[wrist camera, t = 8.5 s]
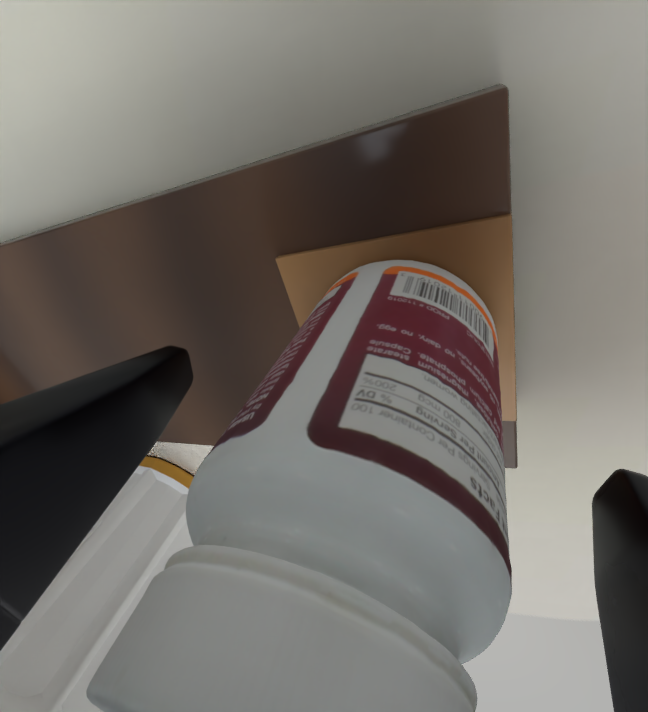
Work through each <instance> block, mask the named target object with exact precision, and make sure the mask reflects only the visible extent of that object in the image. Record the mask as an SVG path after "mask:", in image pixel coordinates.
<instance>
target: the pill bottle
mask: <svg viewBox="0 0 648 712" xmlns="http://www.w3.org/2000/svg"><path fill="white" fill-rule="evenodd" d="M504 465H505V463H504V448H503V430H502V409H501V391H500V377H499V359H498V340H497V334H496V329H495V325H494V321H493V319H492V316H491V314H490V312H489V311H488V309H487V307H486V305H485V304H484V302H483V301H482V300H481V298H480V297H479V296H478V295H477V294H476V293H475V292H474V290H473V289H472V288H471V287H470V286H468V285H467V284H466V283H465V282H464V281H462V280H461V279H460V278H458V277H457V276H455V275H453V274H452V273H450V272H448V271H446V270H444V269H441V268H439V267H437V266H434V265H431V264H428V263H423V262H418V261H413V260H387V261H380V262H374V263H369V264H367V265H364V266H360V267H358V268H356V269H355V270H353V271H351V272H349V273H348V274H346V275H345V276H343V277H342V278H341V279H339V280H338V281H337V282H336V283H335V284H334V285H333V286H332V287H331V288H330V289H329V290H328V291H327V292H326V294H325V295H324V296H323V298H322V299H321V300H320V302H319V303H318V304H317V305H316V307H315V308H314V310H313V311H312V312H311V314H310V315H309V317H308V318H307V320H306V321H305V322H304V324H303V325H302V327H301V328H300V329H299V331H298V332H297V334H296V335H295V336H294V338H293V339H292V340H291V342H290V343H289V345H288V346H287V347H286V349H285V350H284V351H283V353H282V354H281V355H280V357H279V358H278V359H277V361H276V362H275V363H274V365H273V366H272V368H271V369H270V371H269V372H268V373H267V375H266V376H265V378H264V379H263V380H262V382H261V383H260V384H259V386H258V387H257V388H256V390H255V391H254V392H253V394H252V395H251V396H250V398H249V399H248V400H247V402H246V403H245V404H244V406H243V407H242V409H241V410H240V411H239V413H238V414H237V415H236V417H235V418H234V419H233V420H232V422H231V423H230V425H229V426H228V427H227V429H226V430H225V432H224V433H223V434H222V436H221V437H220V438H219V440H218V441H217V443H216V444H215V446H214V447H213V449H212V450H211V452H210V453H209V454H208V455H207V456H206V458H205V459H204V460H203V462H202V464H201V465H200V467H199V468H198V470H197V472H196V474H195V476H194V478H193V479H192V482H191V485H190V487H189V491H188V496H187V501H186V520H187V526H188V531H189V535H190V538H191V540H192V543H193V546H192V547H188V548H184V549H182V550H180V551H178V552H176V553H175V554H173V555H172V556H171V557H170V558H169V559H168V561H167V563H166V565H165V568H164V571H162V572H160V573H159V574H157V575H156V576H155V577H154V578H153V579H152V581H151V582H150V584H149V586H148V588H147V590H146V591H145V593H144V595H143V597H142V598H141V600H140V602H139V603H138V605H137V606H136V608H135V610H134V611H133V613H132V614H131V616H130V618H129V619H128V621H127V622H126V624H125V626H124V627H123V629H122V630H121V632H120V634H119V635H118V637H117V638H116V640H115V642H114V643H113V645H112V646H111V648H110V650H109V651H108V653H107V655H106V656H105V658H104V659H103V661H102V663H101V664H100V666H99V667H98V669H97V671H96V673H95V674H94V676H93V678H92V679H91V681H90V683H89V685H88V688H87V690H86V694H87V698H88V699H89V701H90V702H91V703H92V704H93V705H95V706H97V707H98V708H99V709H100V710H102V711H104V712H475V709H476V705H477V693H476V689H475V685H474V683H473V681H472V679H471V677H470V676H469V674H468V673H467V672H466V670H465V669H464V667H463V666H462V665H461V664H463V663H465V662H468V661H469V660H471V659H473V658H474V657H476V656H477V655H479V654H480V653H482V652H483V651H484V650H485V649H486V648H487V647H488V646H489V645H490V644H491V643H492V641H493V640H494V638H495V637H496V635H497V634H498V632H499V631H500V629H501V627H502V625H503V623H504V621H505V617H506V614H507V611H508V607H509V603H510V599H511V594H512V584H511V572H512V569H511V564H510V559H509V541H508V527H507V509H506V493H505V467H504Z"/></svg>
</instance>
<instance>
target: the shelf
mask: <svg viewBox="0 0 648 712" xmlns="http://www.w3.org/2000/svg"><path fill="white" fill-rule="evenodd" d="M387 260H413V261H418V262H423V263H428V264H431V265H434V266H437V267H439V268H441V269H444V270H446V271H448V272H450V273H452V274H453V275H455V276H457V277H458V278H460V279H461V280H462V281H464V282H465V283H466V284H467V285H468V286H470V287H471V288H472V289H473V290H474V292H475V293H476V294H477V295H478V296H479V297H480V298H481V300H482V301H483V302H484V304H485V305H486V307H487V309H488V311H489V312H490V314H491V316H492V319H493V321H494V325H495V329H496V334H497V340H498V359H499V377H500V391H501V409H502V430H503V448H504V463H505V465H504V467H505V468H517V426H516V421H517V409H516V366H515V323H514V280H513V237H512V214H511V175H510V134H509V92H508V88H507V87H505V86H504V85H503V84H498V85H495V86H492V87H489V88H486V89H482V90H479V91H476V92H473V93H470V94H467V95H464V96H460V97H457V98H454V99H451V100H448V101H445V102H442V103H438V104H435V105H432V106H429V107H426V108H423V109H420V110H416V111H413V112H410V113H407V114H404V115H401V116H398V117H394V118H391V119H388V120H385V121H382V122H379V123H376V124H373V125H369V126H366V127H363V128H360V129H357V130H354V131H351V132H347V133H344V134H341V135H338V136H335V137H332V138H329V139H325V140H322V141H319V142H316V143H313V144H310V145H307V146H303V147H300V148H297V149H294V150H291V151H288V152H285V153H281V154H278V155H275V156H272V157H269V158H266V159H263V160H259V161H256V162H253V163H250V164H247V165H244V166H241V167H237V168H234V169H231V170H228V171H225V172H222V173H219V174H215V175H212V176H209V177H206V178H203V179H200V180H197V181H194V182H190V183H187V184H184V185H181V186H178V187H175V188H172V189H168V190H165V191H162V192H159V193H156V194H153V195H150V196H146V197H143V198H140V199H137V200H134V201H131V202H128V203H124V204H121V205H118V206H115V207H112V208H109V209H106V210H102V211H99V212H96V213H93V214H90V215H87V216H84V217H80V218H77V219H74V220H71V221H68V222H65V223H62V224H58V225H55V226H52V227H49V228H46V229H43V230H40V231H37V232H33V233H30V234H27V235H24V236H21V237H18V238H15V239H11V240H8V241H5V242H2V243H0V404H3V403H6V402H9V401H12V400H15V399H17V398H20V397H23V396H26V395H29V394H32V393H35V392H37V391H40V390H43V389H46V388H49V387H52V386H54V385H57V384H60V383H63V382H66V381H69V380H72V379H74V378H77V377H80V376H83V375H86V374H89V373H91V372H94V371H97V370H100V369H103V368H106V367H109V366H111V365H114V364H117V363H120V362H123V361H126V360H128V359H131V358H134V357H137V356H140V355H143V354H146V353H148V352H151V351H154V350H157V349H160V348H163V347H165V346H169V345H173V346H177V347H181V348H184V349H186V350H187V351H188V353H189V356H190V361H191V366H192V370H193V382H192V385H191V387H190V388H189V390H188V392H187V393H186V395H185V397H184V398H183V400H182V402H181V403H180V405H179V407H178V408H177V410H176V412H175V413H174V415H173V417H172V418H171V420H170V422H169V423H168V425H167V427H166V428H165V430H164V432H163V433H162V435H161V436H160V438H159V439H158V440H157V441H158V442H172V443H185V444H198V445H211V446H215V444H216V443H217V441H218V440H219V438H220V437H221V436H222V434H223V433H224V432H225V430H226V429H227V427H228V426H229V425H230V423H231V422H232V420H233V419H234V418H235V417H236V415H237V414H238V413H239V411H240V410H241V409H242V407H243V406H244V404H245V403H246V402H247V400H248V399H249V398H250V396H251V395H252V394H253V392H254V391H255V390H256V388H257V387H258V386H259V384H260V383H261V382H262V380H263V379H264V378H265V376H266V375H267V373H268V372H269V371H270V369H271V368H272V366H273V365H274V363H275V362H276V361H277V359H278V358H279V357H280V355H281V354H282V353H283V351H284V350H285V349H286V347H287V346H288V345H289V343H290V342H291V340H292V339H293V338H294V336H295V335H296V334H297V332H298V331H299V329H300V328H301V327H302V325H303V324H304V322H305V321H306V320H307V318H308V317H309V315H310V314H311V312H312V311H313V310H314V308H315V307H316V305H317V304H318V303H319V302H320V300H321V299H322V298H323V296H324V295H325V294H326V292H327V291H328V290H329V289H330V288H331V287H332V286H333V285H334V284H335V283H336V282H337V281H338V280H339V279H341V278H342V277H343V276H345V275H346V274H348V273H349V272H351V271H353V270H355V269H356V268H358V267H360V266H364V265H367V264H369V263H374V262H380V261H387Z"/></svg>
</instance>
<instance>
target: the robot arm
mask: <svg viewBox="0 0 648 712" xmlns="http://www.w3.org/2000/svg"><path fill="white" fill-rule="evenodd" d="M192 382H193V370H192V366H191V361H190V356H189V353H188V351H187V350H186V349H184V348H181V347H177V346H173V345H169V346H165V347H163V348H160V349H157V350H154V351H151V352H148V353H146V354H143V355H140V356H137V357H134V358H131V359H128V360H126V361H123V362H120V363H117V364H114V365H111V366H109V367H106V368H103V369H100V370H97V371H94V372H91V373H89V374H86V375H83V376H80V377H77V378H74V379H72V380H69V381H66V382H63V383H60V384H57V385H54V386H52V387H49V388H46V389H43V390H40V391H37V392H35V393H32V394H29V395H26V396H23V397H20V398H17V399H15V400H12V401H9V402H6V403H3V404H0V651H1V650H2V648H3V647H4V646H5V644H6V643H7V642H8V640H9V639H10V638H11V636H12V635H13V634H14V632H15V631H16V630H17V628H18V627H19V626H20V624H21V621H23V620H24V619H25V617H26V616H27V615H28V613H29V612H30V611H31V609H32V608H33V607H34V605H35V604H36V603H37V601H38V600H39V599H40V597H41V596H42V595H43V593H44V592H45V590H46V589H47V588H48V586H49V585H50V584H51V582H52V581H53V580H54V578H55V577H56V576H57V574H58V573H59V572H60V570H61V569H62V568H63V566H64V565H65V564H66V562H67V561H68V560H69V558H70V557H71V556H72V554H73V553H74V552H75V550H76V549H77V548H78V546H79V545H80V544H81V542H82V541H83V540H84V538H85V537H86V536H87V534H88V533H89V532H90V530H91V529H92V528H93V526H94V525H95V524H96V522H97V521H98V520H99V518H100V517H101V516H102V514H103V513H104V512H105V510H106V509H107V508H108V506H109V505H110V504H111V502H112V501H113V500H114V498H115V497H116V496H117V494H118V493H119V492H120V490H121V489H122V488H123V486H124V485H125V484H126V482H127V481H128V480H129V478H130V477H131V476H132V474H133V473H134V472H135V470H136V469H137V467H138V466H139V465H140V463H141V462H142V461H143V459H144V458H145V457H146V455H147V454H148V453H149V451H150V450H151V449H152V447H153V446H154V445H155V443H156V442H157V440H158V439H159V438H160V436H161V435H162V433H163V432H164V430H165V428H166V427H167V425H168V423H169V422H170V420H171V418H172V417H173V415H174V413H175V412H176V410H177V408H178V407H179V405H180V403H181V402H182V400H183V398H184V397H185V395H186V393H187V392H188V390H189V388H190V387H191V385H192ZM592 519H593V550H594V576H595V589H596V597H597V604H598V610H599V617H600V623H601V629H602V636H603V642H604V649H605V655H606V662H607V669H608V675H609V682H610V688H611V694H612V701H613V707H614V712H648V477H647V476H645V475H643V474H640V473H636V472H632V471H629V470H625V469H618V470H616V471H615V472H613V473H612V475H611V476H610V477H609V478H608V479H607V480H606V481H605V483H604V484H603V485H602V486H601V487H600V488H599V489H598V491H597V492H596V493H595V495H594V497H593V501H592Z"/></svg>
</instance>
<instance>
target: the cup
mask: <svg viewBox="0 0 648 712" xmlns="http://www.w3.org/2000/svg"><path fill="white" fill-rule="evenodd" d="M193 478H194V477H193V476H192V475H190V474H189V473H187V472H185V471H184V470H182V469H180V468H178V467H176V466H174V465H172V464H170V463H168V462H166V461H163V460H161V459H158V458H153V457H147V456H146V457H145V458H144V459H143V461H142V462H141V463H140V465H139V466H138V467H137V469H136V470H135V472H134V473H133V474H132V476H131V477H130V478H129V480H128V481H127V482H126V484H125V485H124V486H123V488H122V489H121V490H120V492H119V493H118V494H117V496H116V497H115V498H114V500H113V501H112V502H111V504H110V505H109V506H108V508H107V509H106V510H105V512H104V513H103V514H102V516H101V517H100V518H99V520H98V521H97V522H96V524H95V525H94V526H93V528H92V529H91V530H90V532H89V533H88V534H87V536H86V537H85V538H84V540H83V541H82V542H81V544H80V545H79V546H78V548H77V549H76V550H75V552H74V553H73V554H72V556H71V557H70V558H69V560H68V561H67V562H66V564H65V565H64V566H63V568H62V569H61V570H60V572H59V573H58V574H57V576H56V577H55V578H54V580H53V581H52V582H51V584H50V585H49V586H48V588H47V589H46V590H45V592H44V593H43V595H42V596H41V597H40V599H39V600H38V601H37V603H36V604H35V605H34V607H33V608H32V609H31V611H30V612H29V613H28V615H27V616H26V617H25V619H24V620H23V621H21V624H20V626H19V627H18V628H17V630H16V631H15V632H14V634H13V635H12V636H11V638H10V639H9V640H8V642H7V643H6V644H5V646H4V647H3V648H2V650H1V651H0V712H104V711H102V710H100V709H99V708H98V707H97V706H95V705H93V704H92V703H91V702H90V701H89V699H88V698H87V694H86V690H87V688H88V685H89V683H90V681H91V679H92V678H93V676H94V674H95V673H96V671H97V669H98V667H99V666H100V664H101V663H102V661H103V659H104V658H105V656H106V655H107V653H108V651H109V650H110V648H111V646H112V645H113V643H114V642H115V640H116V638H117V637H118V635H119V634H120V632H121V630H122V629H123V627H124V626H125V624H126V622H127V621H128V619H129V618H130V616H131V614H132V613H133V611H134V610H135V608H136V606H137V605H138V603H139V602H140V600H141V598H142V597H143V595H144V593H145V591H146V590H147V588H148V586H149V584H150V582H151V581H152V579H153V578H154V577H155V576H156V575H157V574H159V573H160V572H162V571H164V568H165V565H166V563H167V561H168V559H169V558H170V557H171V556H172V555H173V554H175V553H176V552H178V551H180V550H182V549H184V548H188V547H192V546H193V543H192V540H191V538H190V535H189V531H188V526H187V520H186V501H187V496H188V491H189V487H190V485H191V482H192V479H193Z"/></svg>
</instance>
